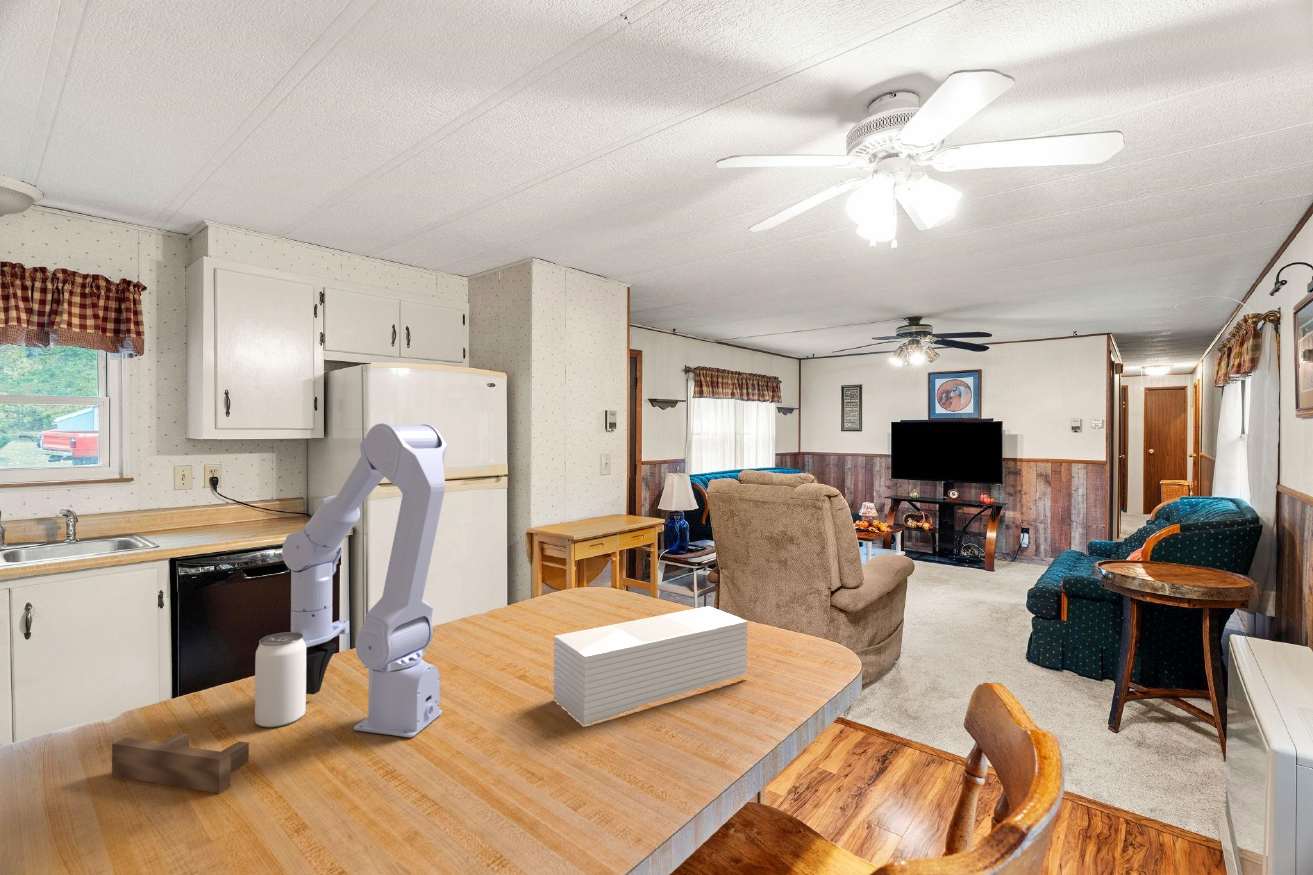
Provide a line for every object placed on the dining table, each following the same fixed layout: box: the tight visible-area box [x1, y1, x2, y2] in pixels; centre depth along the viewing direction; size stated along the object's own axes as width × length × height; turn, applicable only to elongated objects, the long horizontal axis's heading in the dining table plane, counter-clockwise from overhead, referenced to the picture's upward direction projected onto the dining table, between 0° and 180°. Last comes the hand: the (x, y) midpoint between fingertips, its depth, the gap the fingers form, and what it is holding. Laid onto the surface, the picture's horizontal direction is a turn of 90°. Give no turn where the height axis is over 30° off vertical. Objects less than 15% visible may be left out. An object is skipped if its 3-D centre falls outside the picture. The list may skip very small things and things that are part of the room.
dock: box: [111, 732, 250, 794], centre depth 77 cm, size 16×6×4 cm, turn 78°
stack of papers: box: [552, 605, 748, 726], centre depth 103 cm, size 32×11×11 cm, turn 124°
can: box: [254, 631, 307, 729], centre depth 91 cm, size 6×6×12 cm
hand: (311, 692), depth 97 cm, fingers closed
